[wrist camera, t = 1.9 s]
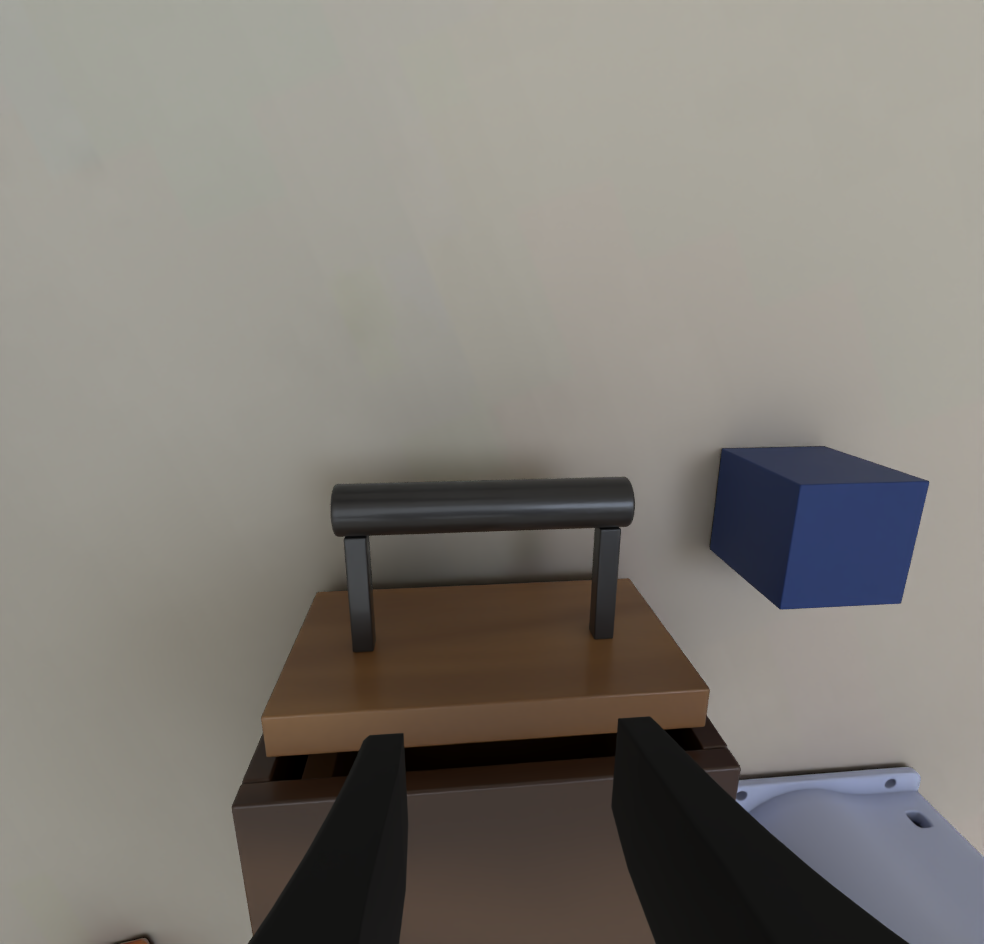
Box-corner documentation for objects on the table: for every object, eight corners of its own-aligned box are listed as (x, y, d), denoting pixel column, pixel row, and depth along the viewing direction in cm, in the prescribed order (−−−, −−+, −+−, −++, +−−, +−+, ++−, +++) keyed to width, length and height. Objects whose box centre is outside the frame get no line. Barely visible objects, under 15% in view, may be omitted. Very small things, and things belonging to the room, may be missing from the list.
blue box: (824, 446, 20) (930, 480, 16) (807, 545, 21) (901, 604, 17) (721, 448, 20) (800, 484, 15) (709, 549, 21) (779, 610, 16)
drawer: (303, 454, 17) (233, 525, 12) (639, 447, 18) (734, 509, 13) (345, 881, 22) (311, 1083, 17) (607, 857, 23) (664, 1039, 18)
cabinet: (309, 622, 20) (229, 807, 12) (634, 606, 21) (742, 767, 14) (338, 909, 24) (292, 1181, 16) (611, 883, 25) (685, 1127, 18)
